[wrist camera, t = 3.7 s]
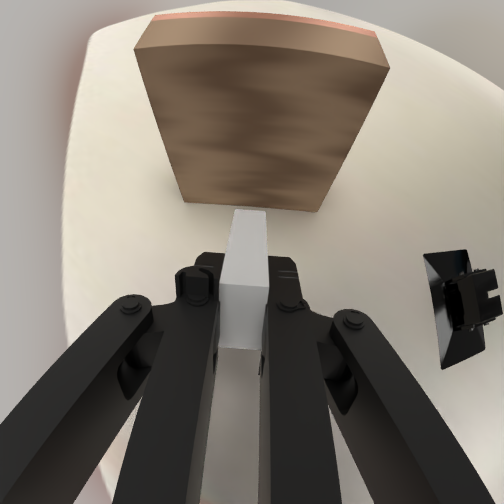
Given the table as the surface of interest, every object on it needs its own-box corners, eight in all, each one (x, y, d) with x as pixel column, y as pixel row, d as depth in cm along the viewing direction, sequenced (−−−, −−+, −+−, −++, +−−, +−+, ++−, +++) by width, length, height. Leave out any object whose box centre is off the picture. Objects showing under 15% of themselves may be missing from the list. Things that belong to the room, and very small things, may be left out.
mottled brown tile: (316, 178, 24) (374, 31, 10) (316, 212, 23) (389, 68, 9) (190, 169, 23) (155, 15, 10) (184, 202, 23) (133, 48, 9)
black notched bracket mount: (488, 362, 20) (522, 360, 15) (430, 388, 19) (465, 392, 15) (464, 233, 23) (493, 214, 19) (405, 239, 23) (434, 218, 19)
